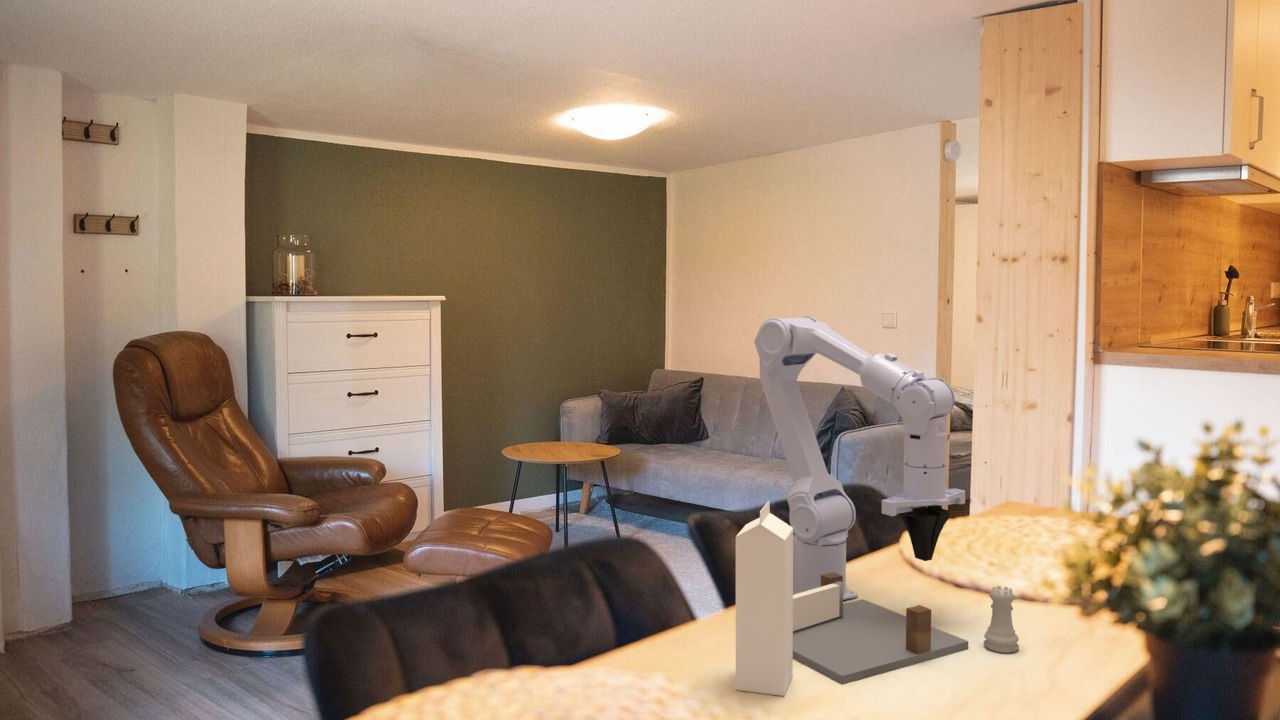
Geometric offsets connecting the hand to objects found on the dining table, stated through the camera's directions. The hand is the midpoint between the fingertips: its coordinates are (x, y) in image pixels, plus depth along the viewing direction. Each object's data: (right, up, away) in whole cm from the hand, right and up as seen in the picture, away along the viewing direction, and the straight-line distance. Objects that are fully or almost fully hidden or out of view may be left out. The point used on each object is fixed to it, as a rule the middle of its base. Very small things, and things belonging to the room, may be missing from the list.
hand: (923, 558), depth 136 cm
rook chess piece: (+8, -10, -9) cm, 15 cm away
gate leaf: (-17, -8, -3) cm, 19 cm away
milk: (-25, -11, -19) cm, 34 cm away
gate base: (-11, -10, -6) cm, 16 cm away
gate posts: (-8, -9, -5) cm, 13 cm away
